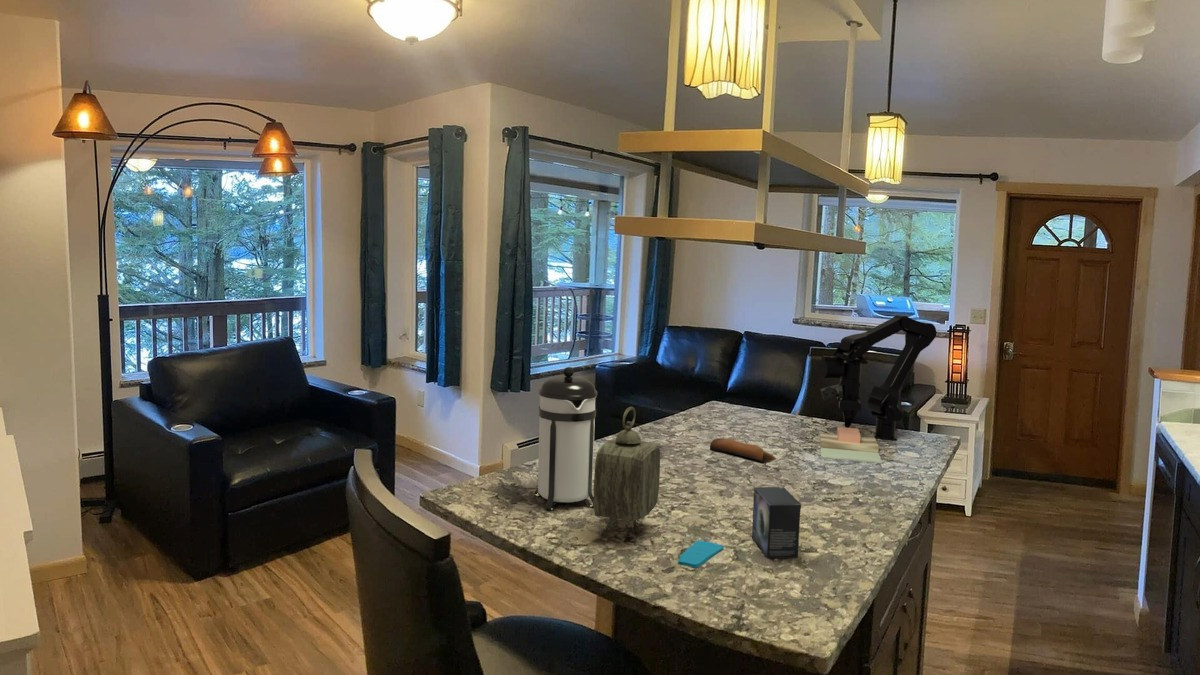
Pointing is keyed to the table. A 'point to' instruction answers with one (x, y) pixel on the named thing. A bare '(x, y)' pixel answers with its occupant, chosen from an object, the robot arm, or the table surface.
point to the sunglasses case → (741, 449)
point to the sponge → (699, 553)
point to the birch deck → (832, 443)
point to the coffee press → (566, 439)
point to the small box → (776, 522)
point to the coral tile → (848, 435)
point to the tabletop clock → (626, 477)
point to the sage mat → (850, 455)
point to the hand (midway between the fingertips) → (846, 427)
